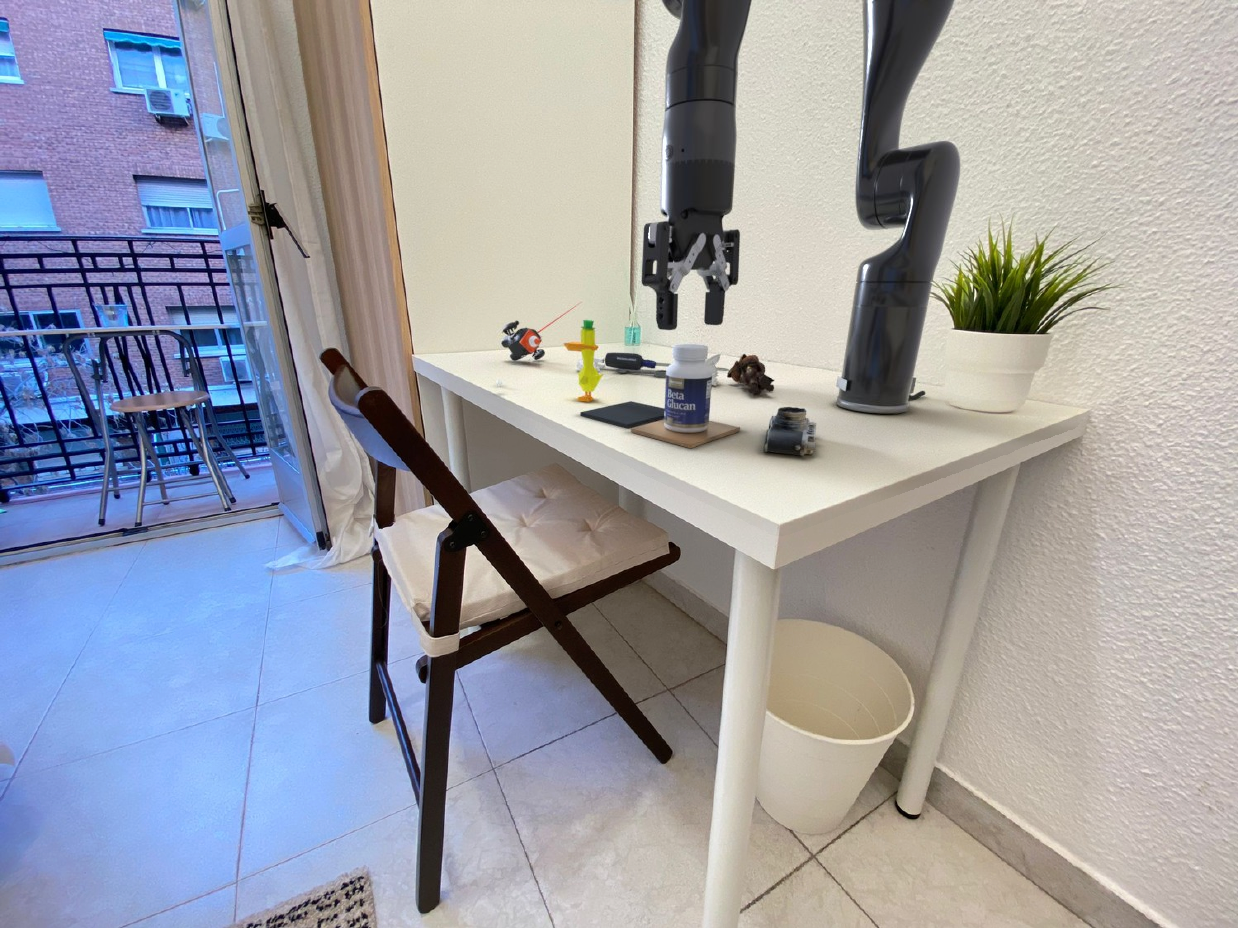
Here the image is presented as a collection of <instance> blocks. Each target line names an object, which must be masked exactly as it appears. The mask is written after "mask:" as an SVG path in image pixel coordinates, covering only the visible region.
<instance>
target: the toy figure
mask: <svg viewBox="0 0 1238 928" xmlns="http://www.w3.org/2000/svg"><path fill="white" fill-rule="evenodd" d="M582 323H583V326H580V328H581V330H580V341H570V342H564V343H563V346H564V347H565V348H566V350H567V351H569V352H580V353H581V356H582V358H581V359H583V365H584V366H583V368H582V369H581V371H579V372H578V385H579V386H580V388H581V389H582V391H583V392H584V395H581V396H577V401H578V402H587V403H590V402H591V401H594V397H593V396H592V392H594V391H595V390H596V388H597V386H598V384H599V383H600V381H601V379H602V377H603V375H604V373H602V374H601V373H600V374H599V371H598V370H596V369H595V368H594V366H593V362H594V356H595V352H596V351H598V348H599V345H597V344H596V330H595V329H596V327H593V326H594V323H595V322H594V320H591V319H583V320H582Z"/></svg>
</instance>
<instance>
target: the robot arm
mask: <svg viewBox="0 0 1238 928" xmlns="http://www.w3.org/2000/svg"><path fill="white" fill-rule="evenodd" d="M661 2H662V4H663V6H664V8H665V10H666V11H667V12H668V13H669V14H670V15H671V16H672V17H673V18H675V19H677V20H679V25H678V28H677V32H676V34H675V36H674V39H673V40H672V42H671V44H670V47H669V49H668V52H667V56H666V62H665V78H664V79H665V80H664V120H663V126H662V127H663V128H662V135H661V160H660V214H661V215H662V216H664V217H665V218H667V219H666V220H664V221H655V222H654V221H653V222H647V223H645V224H644V226H643V236H642V238H643V239H642V259H641V279H640V280H641V284H642V286H643V287H649V288H650V289H652V290H653V292H654V293H655V295H656V298H655V321H656V324H657V325H656V326H657V329H658V330H661V331H674V330H676V329H677V327H678V314H679V313H678V311H679V309H678V308H679V293H677V292H678V289H679V288H680V285H681V284H682V281H683V279H684V278H685V276H687V275H689V274H690V272H691V271H696V273H697V275H698V276H700V277H701V278H702V280H703V283H704V285H705V288H706V290H707V291H705V294H704V295H705V297H704V314H703V315H704V316H703V317H704V318H703V321H704V325H707V326H721V325H722V324H723V322H724V316H725V300H726V292H727V291H728V290H729V288H730V287H731V286H736V285H737V284H738V282H739V274H740V273H739V272H740V271H739V270H740V267H739V266H740V247H741V246H740V245H741V232H740V230H739V229H738V228H737V229H724V228H723V227H724V226H723V219H724V217H726V216H728V215H729V214H730V213H731V212H732V210H733V203H734V188H735V173H736V171H735V170H736V157H737V140H738V139H737V138H738V136H737V135H738V134H737V133H738V132H737V97H738V96H737V95H738V79H739V57H740V51H741V47H742V44H743V40H744V38H745V37H744V36H745V33H746V29H747V25H748V20H749V15H750V11H751V7H752V2H753V0H661ZM954 3H955V0H862V6H861V9H862V10H861V11H862V12H861V13H862V94H861V95H862V97H861V112H860V125H859V140H858V151H857V161H856V162H857V163H856V174H855V187H854V188H855V191H854V200H855V201H854V202H855V203H854V204H855V210H856V211H855V212H856V216H857V219H858V221H859V223H860V226H862V227H863V228H864V229H866V230H869V231H880V230H882V231H883V230H892V229H894V230H895V229H903V230H902V233H901V235H900V237H899V238H898V239H897V241H895V242H894V243H893V244H892V245H890V246H889V247H887V248H886V249H885V250H883V251H880V252H879V253H876V254H875V255H872V256H869V257H867V258H865V259H863V260H862V261H861V262H860V263H859V265H858V268H857V273H856V279H855V284H854V285H855V286H854V292H853V298H852V306H851V312H850V319H849V323H848V332H847V338H846V344H845V352H844V358H843V364H842V370H841V377H840V376H838V375H837V377H836V384H835V387H837V388H839V389H838V395H837V396H836V397H837V398H836V405H837V406H839V407H841V408H843V409H846V410H850V411H856V412H860V413H868V414H884V415H885V414H887V415H889V414H901V413H905V412H907V411H908V409H909V401H915V400H918V399H919V398H921V397H923V396H925V395H926V391H925V390H920V391H919V392H916V393H915V394H913V393H914V391H915V386H916V382H917V377H914V376H915V371H916V366H917V360H918V356H919V351H920V345H921V341H922V336H923V331H924V326H925V321H926V317H927V311H928V307H929V301H930V296H931V291H932V286H933V281H934V277H935V272H936V269H937V266H938V264H939V262H940V259H941V255H942V252H943V247H944V243H945V238H946V235H947V230H948V227H949V223H950V219H951V216H952V212H953V208H954V204H955V200H956V197H957V193H958V188H959V182H960V177H961V156H960V152H959V150H958V147H957V145H955V143H953V142H952V141H949V140H938V141H933V142H927V143H922V144H917V145H912V146H907V147H902V148H900V137H901V130H902V129H901V128H902V122H903V117H904V113H905V109H906V105H907V102H908V100H909V97H910V94H911V91H912V89H913V87H914V85H915V82H917V79H918V77H919V74H920V73H921V71H922V69H923V67H924V65H925V63H926V62H927V59H928V57H929V56H930V54H931V52H932V50H933V48H934V47H935V45H936V43H937V41H938V39H939V37H940V34H941V33H942V31H943V29H944V27H945V25H946V23H947V20H948V18H949V16H950V14H951V11H952V9H953V7H954ZM655 262H656V265H655V266H656V268H655V273H654V263H655ZM728 264H729V273H727V272H726V270H727V268H728ZM911 394H912V395H911Z"/></svg>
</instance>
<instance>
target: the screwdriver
mask: <svg viewBox="0 0 1238 928" xmlns="http://www.w3.org/2000/svg"><path fill="white" fill-rule="evenodd" d="M670 364H671V363H666V362H657V361H655V360H652V359H645V358H644V357H643V355H641V354H640V353H639V354H638V353H635V352H606V354H605V356H604V365H605V367H608V368H613V369H628V370H639V371H641V370H642V368H647V369H652V370H653V369H654V370H655V369H656V367H665V368H667V367H668V366H669V365H670ZM716 367H717V366H716ZM717 370H718V371H717V372H728V371H729V370H730V368H727V367H717Z"/></svg>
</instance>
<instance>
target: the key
mask: <svg viewBox="0 0 1238 928" xmlns="http://www.w3.org/2000/svg"><path fill="white" fill-rule="evenodd" d="M666 370H667V369H666ZM666 370H665V369H658V370H657V369H656V370H654V371H651V370H628V369H618V368H616V370H615V371H614V373H618V374H619V373H620V374H636V375H637V374H639V375H653V377H655V378H661V379H662V378H666Z"/></svg>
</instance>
